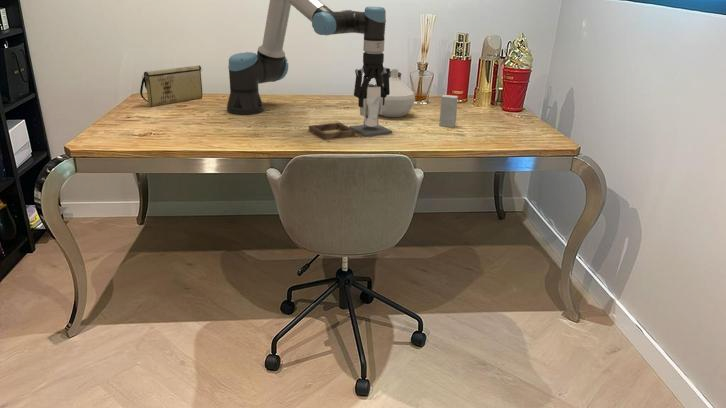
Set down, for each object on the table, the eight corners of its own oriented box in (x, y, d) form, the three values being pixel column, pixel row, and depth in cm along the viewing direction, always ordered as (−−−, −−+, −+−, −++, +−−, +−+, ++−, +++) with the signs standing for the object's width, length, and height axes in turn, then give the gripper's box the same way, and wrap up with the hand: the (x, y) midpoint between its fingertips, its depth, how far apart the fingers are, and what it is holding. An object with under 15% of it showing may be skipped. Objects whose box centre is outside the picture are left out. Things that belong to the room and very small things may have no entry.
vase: (384, 121, 223) (386, 74, 215) (363, 111, 238) (365, 67, 230) (421, 118, 231) (425, 72, 223) (399, 108, 246) (402, 65, 238)
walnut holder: (323, 139, 196) (323, 134, 195) (308, 130, 206) (308, 125, 206) (355, 135, 202) (355, 130, 201) (339, 127, 212) (339, 122, 212)
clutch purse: (197, 96, 256) (194, 63, 250) (206, 98, 252) (203, 65, 246) (138, 105, 235) (133, 70, 229) (147, 108, 231) (142, 72, 225)
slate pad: (364, 136, 201) (364, 134, 201) (349, 128, 211) (349, 126, 210) (392, 133, 207) (392, 130, 207) (375, 125, 216) (376, 123, 216)
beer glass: (379, 127, 205) (381, 87, 199) (361, 127, 205) (362, 87, 199) (379, 123, 211) (381, 84, 205) (361, 122, 211) (363, 83, 205)
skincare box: (455, 125, 221) (458, 95, 217) (453, 127, 218) (456, 97, 213) (440, 123, 223) (443, 94, 218) (438, 126, 219) (441, 96, 215)
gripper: (354, 54, 190) (353, 119, 199) (402, 52, 199) (398, 114, 208) (344, 51, 196) (343, 114, 205) (391, 49, 205) (387, 110, 214)
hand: (371, 114), depth 206 cm, fingers closed on beer glass, 7 cm apart
